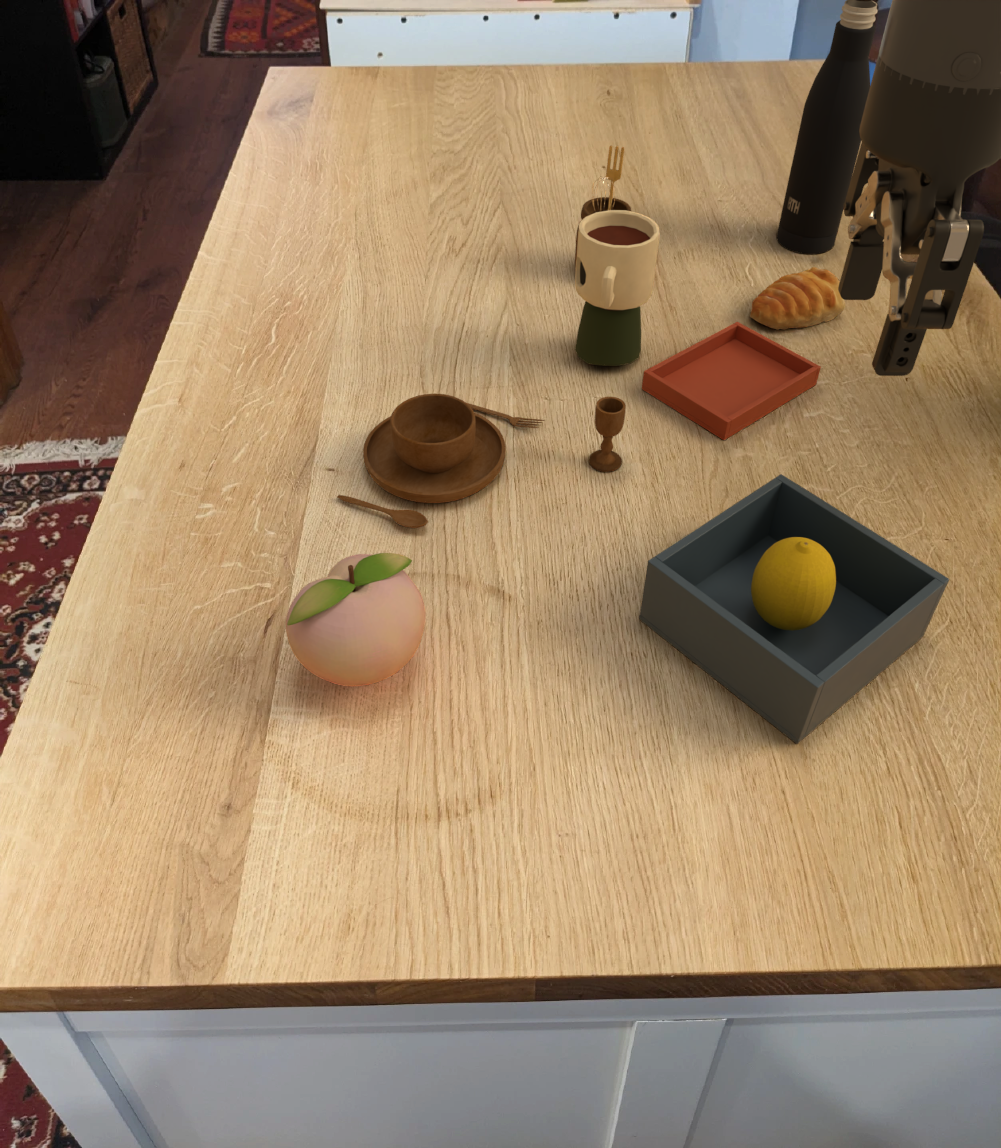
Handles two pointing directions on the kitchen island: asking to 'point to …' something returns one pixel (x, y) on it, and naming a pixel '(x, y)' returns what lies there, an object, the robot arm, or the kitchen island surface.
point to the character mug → (614, 284)
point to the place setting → (455, 450)
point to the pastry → (799, 300)
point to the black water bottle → (829, 136)
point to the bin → (775, 656)
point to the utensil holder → (605, 202)
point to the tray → (730, 379)
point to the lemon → (793, 583)
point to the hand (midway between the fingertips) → (871, 333)
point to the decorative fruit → (358, 620)
